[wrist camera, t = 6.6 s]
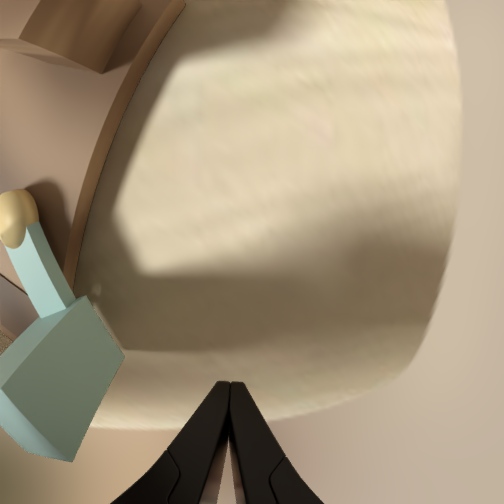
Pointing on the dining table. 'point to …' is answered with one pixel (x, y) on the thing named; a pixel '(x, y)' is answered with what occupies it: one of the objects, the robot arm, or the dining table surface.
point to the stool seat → (65, 114)
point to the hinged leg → (50, 346)
